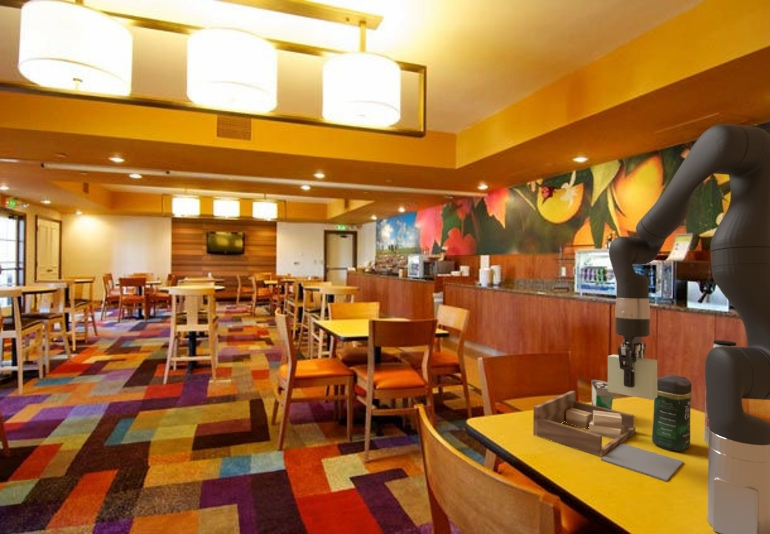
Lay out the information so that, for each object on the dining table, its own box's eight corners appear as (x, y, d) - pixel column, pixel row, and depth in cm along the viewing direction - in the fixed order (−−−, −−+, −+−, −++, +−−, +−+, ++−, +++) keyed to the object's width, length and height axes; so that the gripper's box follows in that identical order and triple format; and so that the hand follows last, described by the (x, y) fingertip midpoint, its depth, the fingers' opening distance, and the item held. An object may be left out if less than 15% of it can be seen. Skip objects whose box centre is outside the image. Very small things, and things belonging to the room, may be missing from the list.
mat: (666, 481, 96) (666, 479, 96) (600, 460, 106) (600, 458, 106) (683, 462, 105) (683, 461, 105) (621, 444, 116) (621, 443, 116)
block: (652, 400, 102) (652, 362, 102) (607, 391, 109) (607, 356, 110) (657, 397, 105) (657, 360, 105) (613, 389, 112) (613, 354, 112)
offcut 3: (620, 441, 119) (620, 430, 119) (589, 433, 124) (589, 423, 124) (624, 436, 123) (624, 425, 123) (593, 428, 128) (593, 418, 128)
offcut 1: (585, 429, 126) (586, 416, 126) (566, 423, 131) (566, 410, 131) (591, 426, 129) (592, 413, 129) (572, 420, 134) (572, 407, 134)
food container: (618, 423, 131) (619, 391, 131) (596, 421, 133) (596, 388, 133) (611, 410, 143) (612, 380, 143) (591, 408, 145) (591, 379, 145)
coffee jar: (682, 455, 110) (683, 382, 110) (648, 444, 116) (649, 376, 116) (694, 445, 116) (696, 376, 116) (661, 436, 122) (662, 370, 122)
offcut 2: (621, 429, 120) (621, 418, 120) (593, 425, 123) (593, 414, 123) (619, 424, 124) (619, 413, 124) (592, 420, 126) (592, 410, 126)
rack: (602, 457, 108) (602, 425, 108) (533, 434, 122) (533, 406, 122) (635, 432, 124) (636, 405, 124) (571, 415, 138) (571, 390, 138)
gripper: (640, 319, 100) (640, 393, 100) (657, 316, 110) (657, 383, 109) (605, 316, 106) (605, 387, 105) (625, 313, 115) (625, 378, 115)
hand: (632, 385), depth 107 cm, fingers closed on block, 4 cm apart
